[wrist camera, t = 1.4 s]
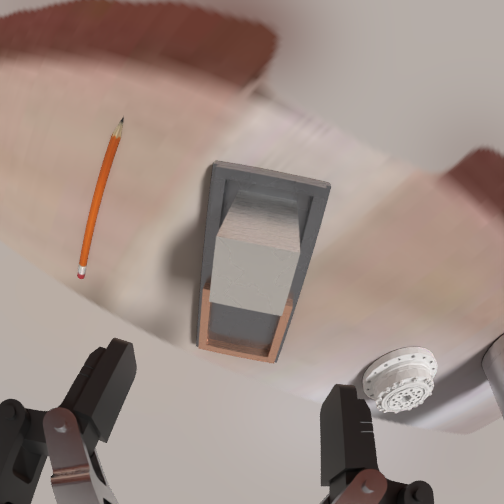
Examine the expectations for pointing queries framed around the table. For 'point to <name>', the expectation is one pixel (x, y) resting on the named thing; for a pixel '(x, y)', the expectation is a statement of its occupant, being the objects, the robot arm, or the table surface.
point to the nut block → (256, 253)
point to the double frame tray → (274, 326)
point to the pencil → (98, 197)
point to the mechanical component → (401, 379)
